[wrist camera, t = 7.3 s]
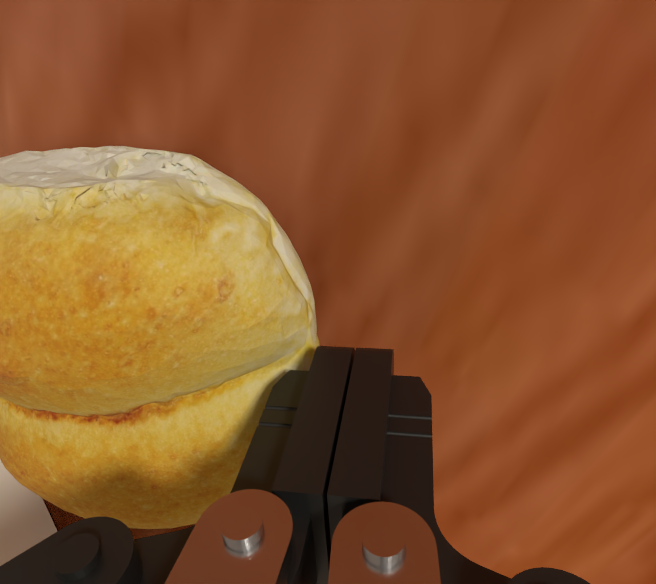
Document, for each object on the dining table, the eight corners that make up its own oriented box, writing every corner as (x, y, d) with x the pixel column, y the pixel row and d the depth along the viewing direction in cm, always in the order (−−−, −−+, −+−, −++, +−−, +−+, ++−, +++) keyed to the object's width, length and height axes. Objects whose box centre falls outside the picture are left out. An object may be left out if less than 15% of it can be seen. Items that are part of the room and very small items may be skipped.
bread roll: (65, 443, 15) (-38, 568, 12) (-49, 139, 11) (-262, 197, 8) (336, 471, 14) (307, 621, 11) (323, 139, 10) (267, 210, 6)
